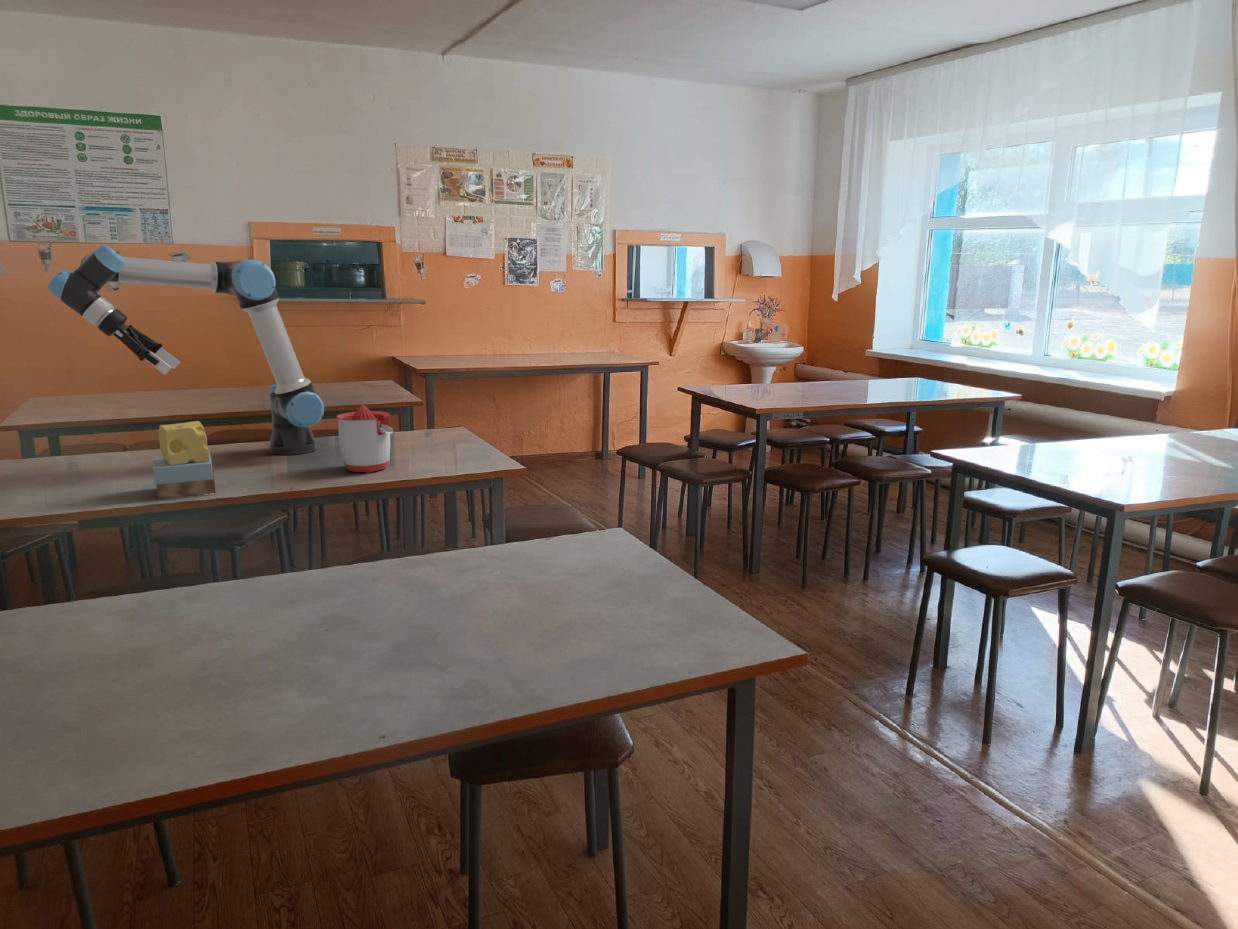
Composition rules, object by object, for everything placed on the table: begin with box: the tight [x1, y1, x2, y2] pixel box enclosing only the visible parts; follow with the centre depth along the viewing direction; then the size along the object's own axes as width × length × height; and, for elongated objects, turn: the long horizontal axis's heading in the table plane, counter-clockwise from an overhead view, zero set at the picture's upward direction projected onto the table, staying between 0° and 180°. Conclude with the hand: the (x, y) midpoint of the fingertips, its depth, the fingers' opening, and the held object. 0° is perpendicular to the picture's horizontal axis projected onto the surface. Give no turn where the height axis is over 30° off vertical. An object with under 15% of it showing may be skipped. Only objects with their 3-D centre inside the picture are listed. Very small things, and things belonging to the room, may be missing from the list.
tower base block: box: [156, 468, 217, 501], centre depth 235 cm, size 14×14×4 cm
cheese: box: [158, 420, 211, 465], centre depth 233 cm, size 10×11×10 cm
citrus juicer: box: [336, 404, 394, 474], centre depth 260 cm, size 16×17×20 cm
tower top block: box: [152, 453, 213, 486], centre depth 234 cm, size 14×14×4 cm
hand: (173, 368), depth 245 cm, fingers open, 13 cm apart
